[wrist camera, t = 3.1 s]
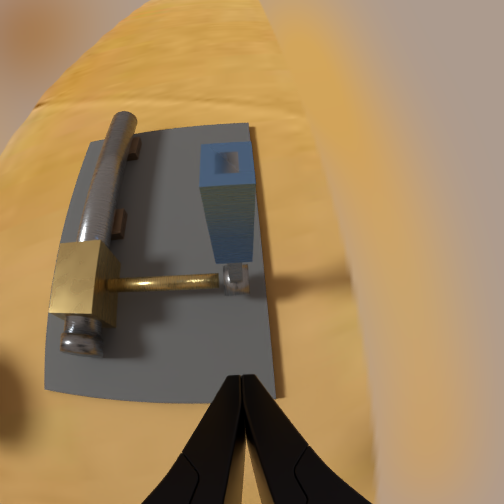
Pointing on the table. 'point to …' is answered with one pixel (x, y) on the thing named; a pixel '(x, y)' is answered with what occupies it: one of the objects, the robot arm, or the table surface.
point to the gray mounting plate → (167, 302)
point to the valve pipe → (104, 253)
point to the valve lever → (229, 209)
